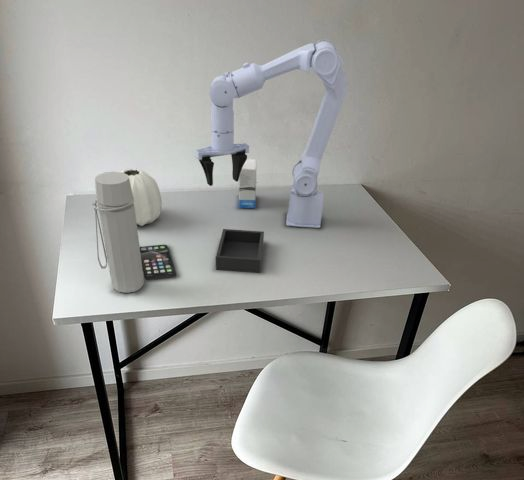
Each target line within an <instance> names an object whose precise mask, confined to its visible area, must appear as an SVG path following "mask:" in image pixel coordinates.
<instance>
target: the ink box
mask: <svg viewBox="0 0 524 480" xmlns="http://www.w3.org/2000/svg"><path fill="white" fill-rule="evenodd" d="M256 197H257V159H256V158H255V159H254V158H247V160H246V161H245V163H244V165H243V167H242V170H241V172H240V176H239V180H238V208H239V209H256V200H257V199H256Z"/></svg>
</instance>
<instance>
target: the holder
mask: <svg viewBox="0 0 524 480" xmlns="http://www.w3.org/2000/svg"><path fill="white" fill-rule="evenodd" d="M264 238H265V231H264V230H263V231H260V230H244V229H233V228H232V229H230V228H222V231H221V235H220V239H219V243H218V246H217V251H216V255H215V269H216V271H227V272H230V271H231V272H243V273H245V272H246V273H256V274H257V273H261V266H262V260H263V259H262V258H263V251H264V240H265V239H264Z"/></svg>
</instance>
